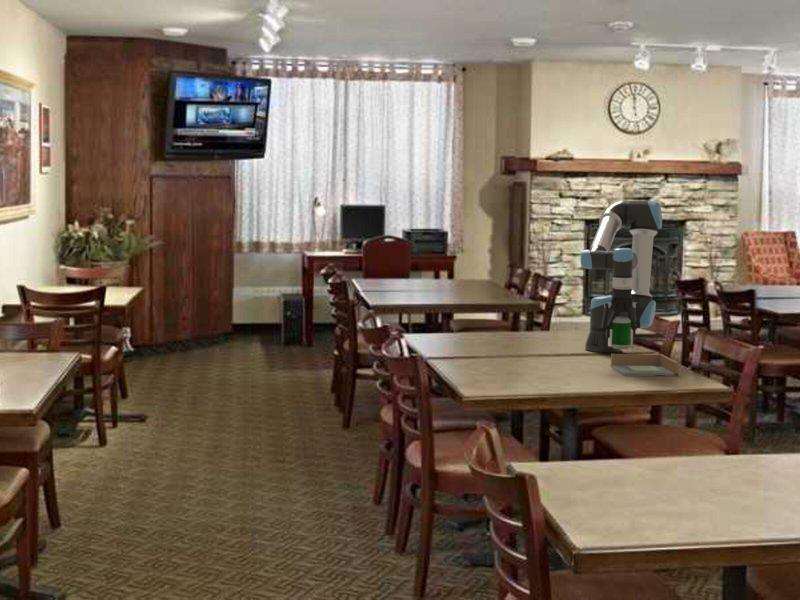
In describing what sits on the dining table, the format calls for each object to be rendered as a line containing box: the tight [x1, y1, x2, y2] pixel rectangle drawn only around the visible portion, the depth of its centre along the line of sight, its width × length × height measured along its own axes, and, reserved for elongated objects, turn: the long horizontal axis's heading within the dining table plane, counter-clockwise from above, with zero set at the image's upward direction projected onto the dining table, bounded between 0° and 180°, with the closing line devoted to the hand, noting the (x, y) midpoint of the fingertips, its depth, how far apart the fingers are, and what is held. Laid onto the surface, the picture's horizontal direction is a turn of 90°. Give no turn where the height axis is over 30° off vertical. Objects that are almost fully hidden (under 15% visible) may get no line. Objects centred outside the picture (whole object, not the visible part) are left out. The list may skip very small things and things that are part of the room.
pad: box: [627, 366, 661, 371], centre depth 400 cm, size 10×10×1 cm
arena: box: [610, 353, 680, 377], centre depth 400 cm, size 20×20×5 cm
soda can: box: [611, 316, 632, 350], centre depth 415 cm, size 8×8×12 cm
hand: (620, 345), depth 416 cm, fingers closed on soda can, 7 cm apart
